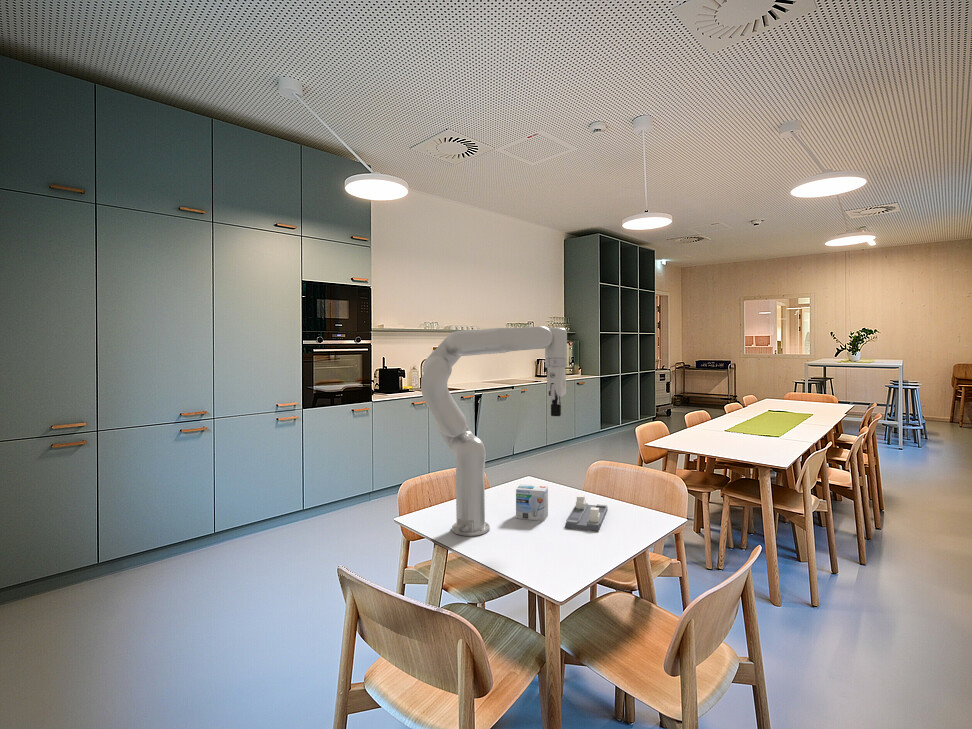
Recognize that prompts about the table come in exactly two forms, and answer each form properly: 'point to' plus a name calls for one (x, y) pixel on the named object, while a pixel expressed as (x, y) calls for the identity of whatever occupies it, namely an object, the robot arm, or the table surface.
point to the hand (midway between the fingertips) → (555, 415)
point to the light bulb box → (532, 502)
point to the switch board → (585, 518)
